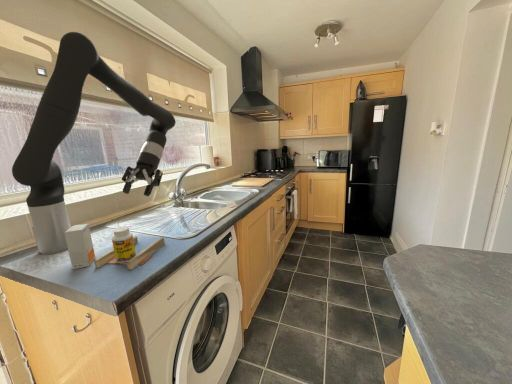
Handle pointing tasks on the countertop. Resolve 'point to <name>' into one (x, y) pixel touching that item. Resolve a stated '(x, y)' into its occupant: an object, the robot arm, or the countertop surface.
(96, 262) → the guide channel
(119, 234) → the supplement bottle
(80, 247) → the skincare box
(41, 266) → the countertop surface
